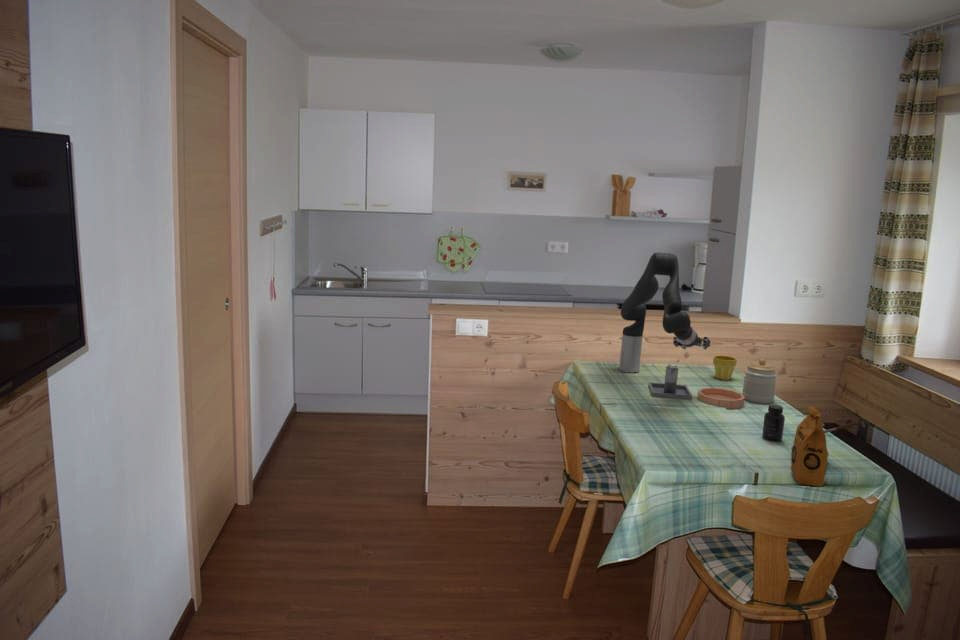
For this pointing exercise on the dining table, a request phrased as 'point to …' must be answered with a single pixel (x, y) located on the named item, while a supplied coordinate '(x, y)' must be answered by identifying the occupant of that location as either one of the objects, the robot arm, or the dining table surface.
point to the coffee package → (810, 451)
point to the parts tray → (658, 391)
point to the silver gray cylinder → (671, 379)
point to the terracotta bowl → (721, 397)
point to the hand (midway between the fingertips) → (695, 347)
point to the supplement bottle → (773, 423)
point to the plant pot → (724, 366)
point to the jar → (759, 382)
